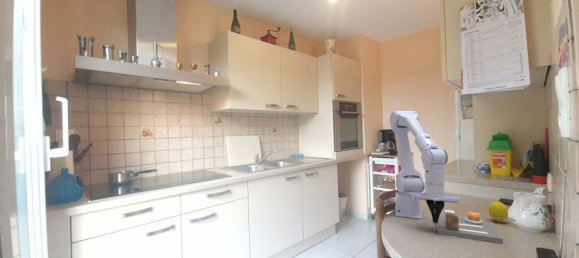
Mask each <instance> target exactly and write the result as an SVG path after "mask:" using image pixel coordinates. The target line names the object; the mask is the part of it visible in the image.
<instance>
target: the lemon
mask: <svg viewBox="0 0 579 258" xmlns="http://www.w3.org/2000/svg"><path fill="white" fill-rule="evenodd" d="M488 213H489V216H490V217H491V218H492V219H493V220H495V221H496V222H497V223H499V222H501V221H504V220H506V219H507V218H508V214H509V213H508V208H507V206H506V205H505V203H503V202H501V201H499V200H495V201H493V202H491V203H490V204H489V206H488Z"/></svg>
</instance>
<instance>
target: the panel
mask: <svg viewBox="0 0 579 258" xmlns="http://www.w3.org/2000/svg"><path fill="white" fill-rule="evenodd" d="M458 218H459V230H452V229H448V228H447V223H445V221H444V215H440V216H439V219H438V223H434V225H435V228H436V231H437V234H438V235H442V236H449V237H454V238H462V239H467V240H476V241H483V242H489V243H496V244H504V239H503V237H502V236H501V235H500V234H499V233H498V232H497V231H496V230H495V229H494V227H493V226H492V225H491V224H490V223H489V222H488V221H487V220H482V219H481V218H480V220H471V219H468V217H467V216H465V217H458Z"/></svg>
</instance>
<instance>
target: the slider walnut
mask: <svg viewBox="0 0 579 258" xmlns="http://www.w3.org/2000/svg"><path fill="white" fill-rule="evenodd" d="M446 218H447V228H448V229H452V230H459V218H460V217H458V215H456V214H455V215H449V214H446Z"/></svg>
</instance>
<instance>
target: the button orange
mask: <svg viewBox="0 0 579 258" xmlns="http://www.w3.org/2000/svg"><path fill="white" fill-rule="evenodd" d="M466 217H468V219H471V220H480V219H481V213H479V212H476V211H470V210H469V211H467V216H466Z"/></svg>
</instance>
